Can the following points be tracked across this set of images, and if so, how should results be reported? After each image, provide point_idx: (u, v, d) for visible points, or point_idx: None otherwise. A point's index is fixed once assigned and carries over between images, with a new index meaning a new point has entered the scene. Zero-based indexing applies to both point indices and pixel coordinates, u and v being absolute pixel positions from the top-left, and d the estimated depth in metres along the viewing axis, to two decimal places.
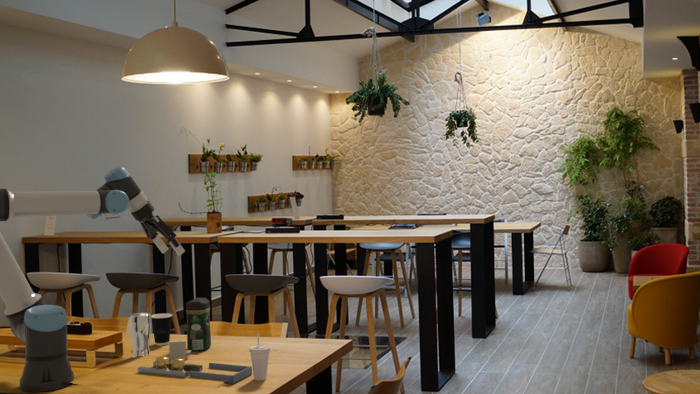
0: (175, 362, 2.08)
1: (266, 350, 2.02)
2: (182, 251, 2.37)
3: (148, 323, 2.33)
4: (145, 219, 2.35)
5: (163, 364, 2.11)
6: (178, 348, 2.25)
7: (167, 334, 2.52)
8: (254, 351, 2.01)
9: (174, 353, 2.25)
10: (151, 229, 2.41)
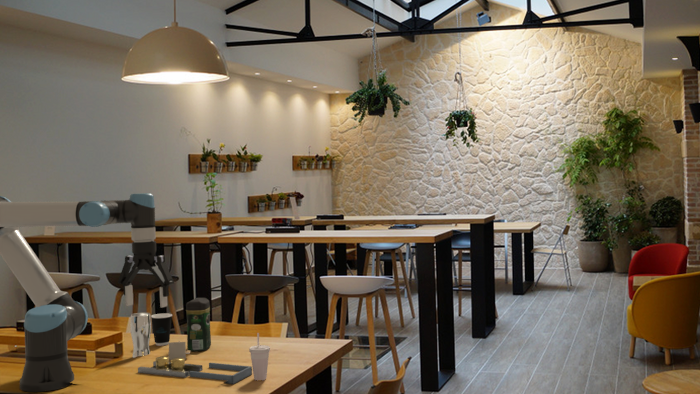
0: (175, 362, 2.08)
1: (266, 350, 2.02)
2: (165, 304, 2.14)
3: (148, 323, 2.33)
4: (142, 256, 2.15)
5: (163, 364, 2.11)
6: (178, 348, 2.25)
7: (167, 334, 2.52)
8: (254, 351, 2.01)
9: (174, 353, 2.25)
10: (134, 273, 2.17)
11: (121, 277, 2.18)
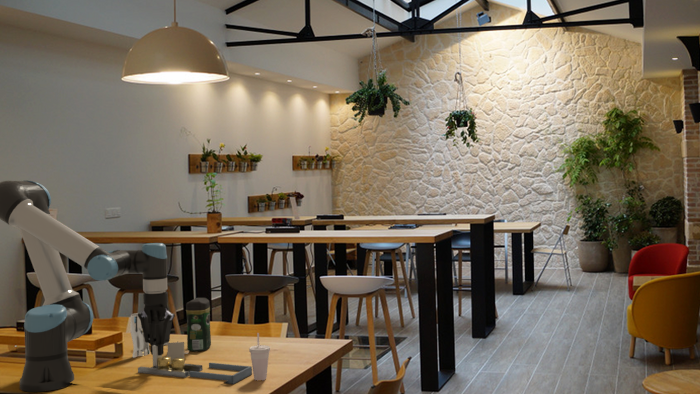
0: (175, 362, 2.08)
1: (266, 350, 2.02)
2: None
3: None
4: (154, 308, 2.12)
5: (165, 364, 2.10)
6: (176, 348, 2.25)
7: None
8: (254, 351, 2.01)
9: (172, 354, 2.25)
10: (154, 326, 2.13)
11: (145, 335, 2.13)
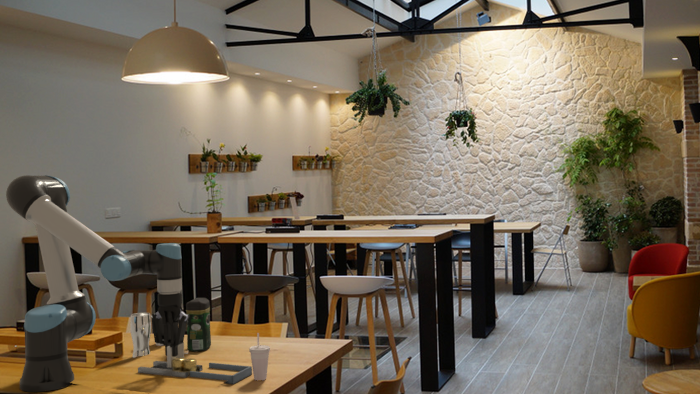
0: (187, 363, 2.07)
1: (266, 350, 2.02)
2: None
3: (148, 323, 2.33)
4: (168, 308, 2.10)
5: (180, 365, 2.08)
6: None
7: None
8: (254, 351, 2.01)
9: None
10: (168, 327, 2.11)
11: (160, 336, 2.11)
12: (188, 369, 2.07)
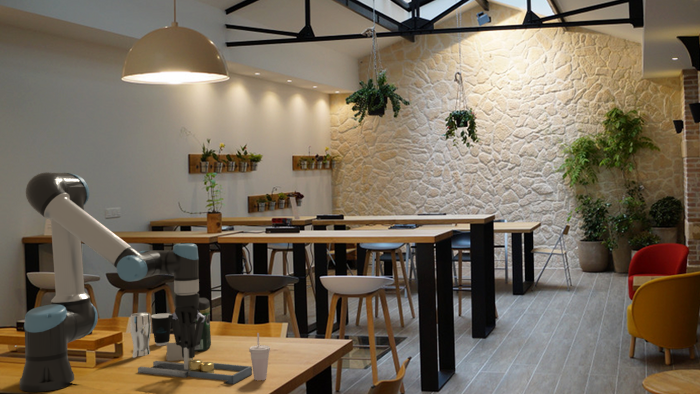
0: (205, 366, 2.05)
1: (266, 350, 2.02)
2: None
3: (148, 323, 2.33)
4: (185, 309, 2.07)
5: (197, 367, 2.06)
6: (176, 349, 2.25)
7: (167, 334, 2.52)
8: (254, 351, 2.01)
9: (172, 354, 2.25)
10: (185, 328, 2.09)
11: (176, 337, 2.09)
12: None
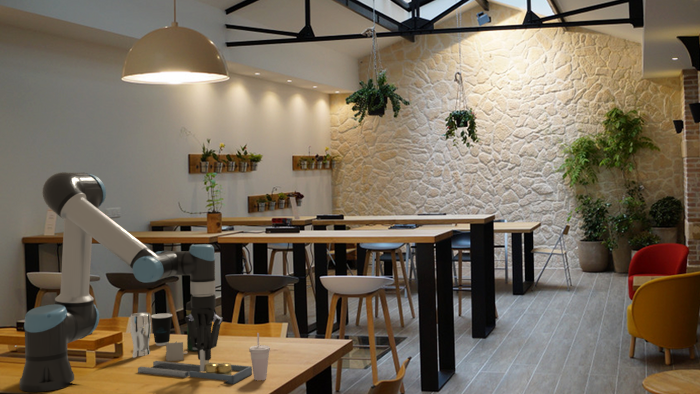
0: (224, 367, 2.03)
1: (266, 350, 2.02)
2: None
3: (148, 323, 2.33)
4: (201, 311, 2.05)
5: (214, 370, 2.04)
6: (175, 349, 2.25)
7: (167, 334, 2.52)
8: (254, 351, 2.01)
9: (171, 354, 2.24)
10: (201, 330, 2.06)
11: (192, 339, 2.06)
12: (225, 374, 2.03)
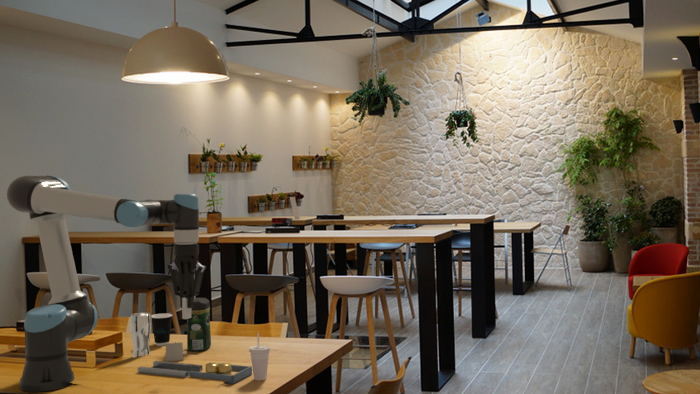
0: (224, 367, 2.03)
1: (266, 350, 2.02)
2: (189, 316, 2.09)
3: (148, 323, 2.33)
4: (184, 259, 2.07)
5: (214, 370, 2.04)
6: (175, 349, 2.24)
7: (167, 334, 2.52)
8: (254, 351, 2.01)
9: (171, 354, 2.24)
10: (184, 278, 2.08)
11: (175, 287, 2.08)
12: (225, 374, 2.03)
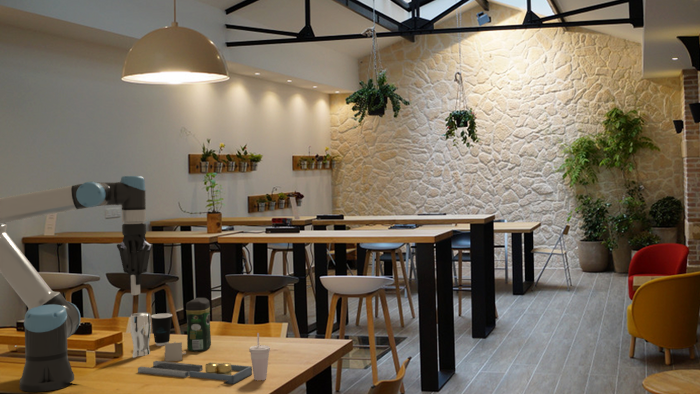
0: (224, 367, 2.03)
1: (266, 350, 2.02)
2: (138, 292, 2.19)
3: (148, 323, 2.33)
4: (132, 238, 2.18)
5: (214, 370, 2.04)
6: (174, 349, 2.24)
7: (167, 334, 2.52)
8: (254, 351, 2.01)
9: (170, 354, 2.24)
10: (132, 257, 2.19)
11: (124, 265, 2.19)
12: (225, 374, 2.03)
